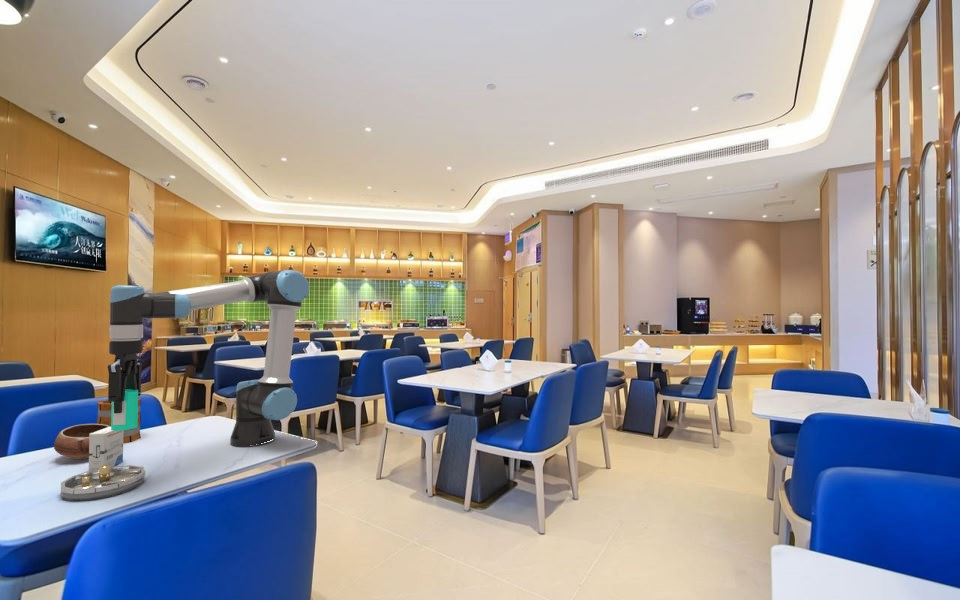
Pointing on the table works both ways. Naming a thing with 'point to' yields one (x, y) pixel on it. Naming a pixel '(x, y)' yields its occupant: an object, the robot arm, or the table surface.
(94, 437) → the ink box
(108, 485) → the carrier
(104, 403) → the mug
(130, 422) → the candle
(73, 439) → the bowl
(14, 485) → the table surface
